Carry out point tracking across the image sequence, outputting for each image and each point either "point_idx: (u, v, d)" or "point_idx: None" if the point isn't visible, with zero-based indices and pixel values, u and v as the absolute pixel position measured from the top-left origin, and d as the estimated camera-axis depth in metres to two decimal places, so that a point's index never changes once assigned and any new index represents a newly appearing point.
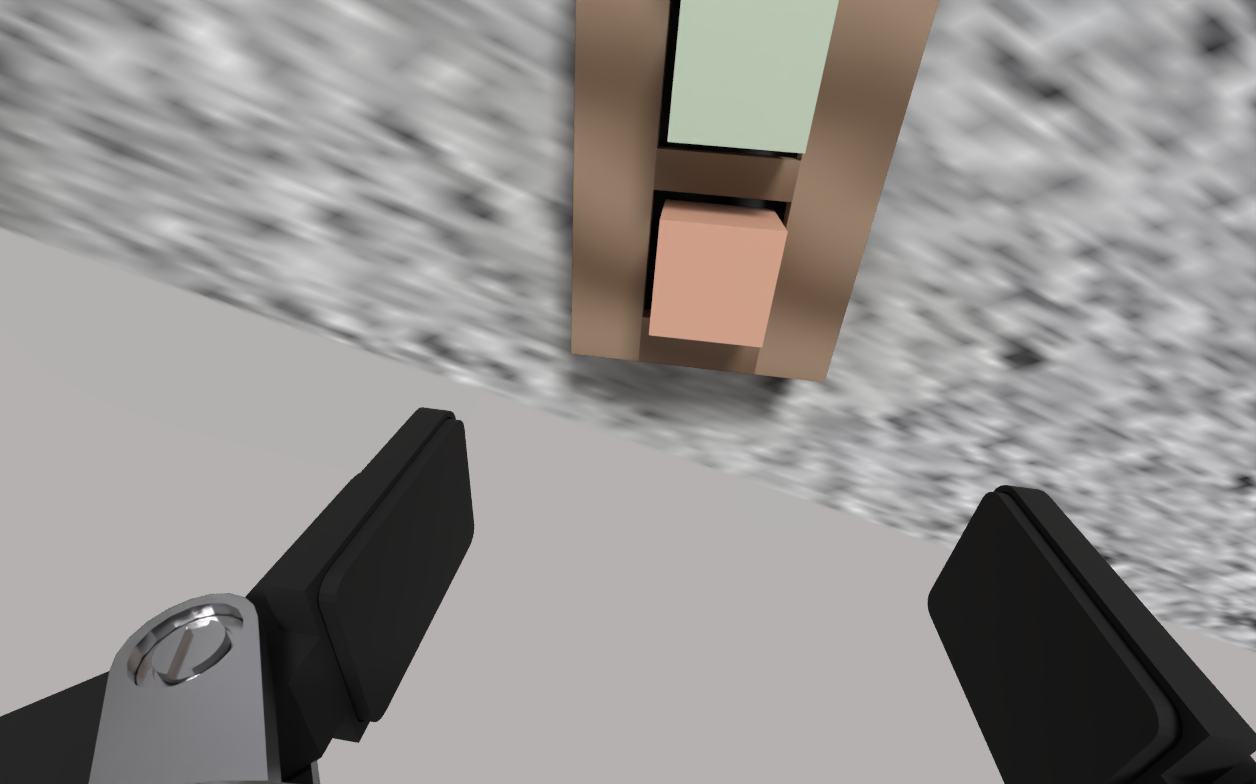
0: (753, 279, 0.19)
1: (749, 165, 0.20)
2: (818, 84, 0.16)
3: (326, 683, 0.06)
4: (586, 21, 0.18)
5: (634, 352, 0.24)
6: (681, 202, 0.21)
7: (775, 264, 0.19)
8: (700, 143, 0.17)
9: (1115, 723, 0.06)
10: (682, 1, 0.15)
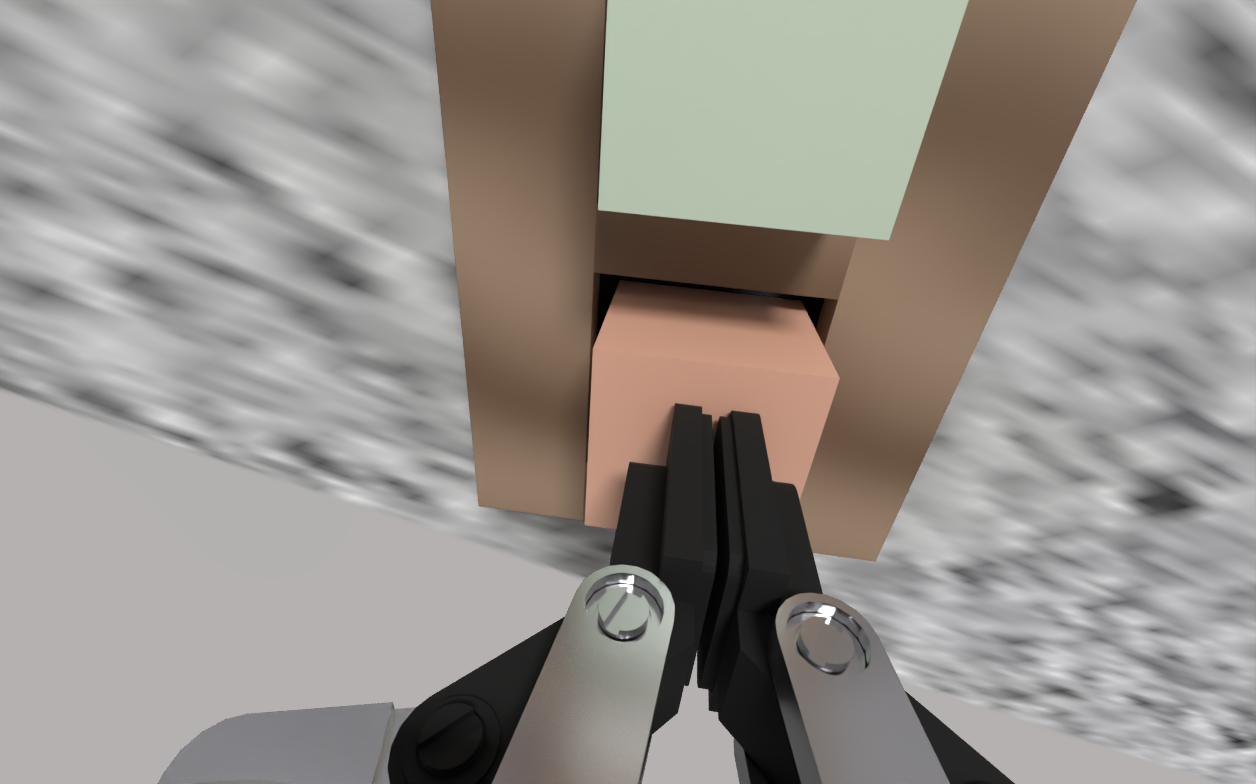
0: (770, 452, 0.10)
1: (764, 235, 0.11)
2: (933, 94, 0.07)
3: None
4: None
5: (576, 508, 0.16)
6: (645, 288, 0.13)
7: (812, 430, 0.10)
8: (667, 215, 0.08)
9: (721, 576, 0.07)
10: None
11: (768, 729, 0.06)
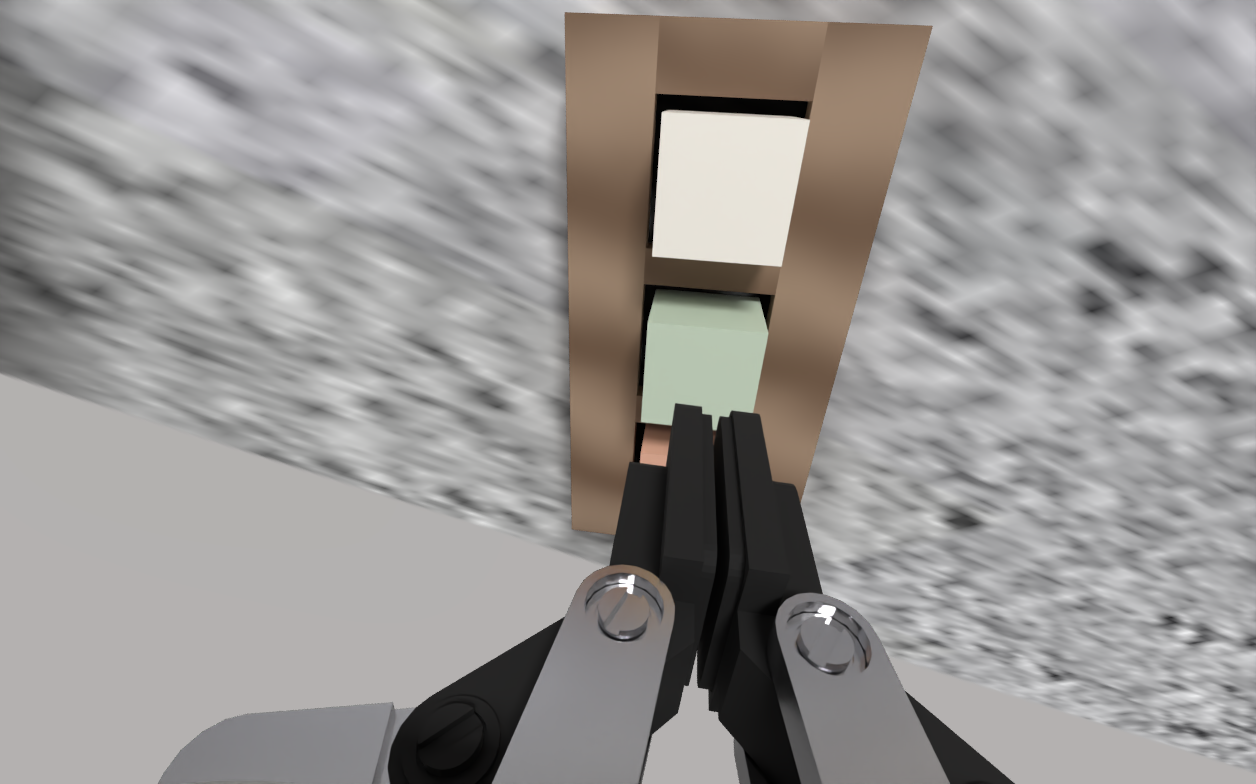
0: None
1: None
2: (755, 393, 0.20)
3: None
4: (577, 314, 0.23)
5: None
6: None
7: None
8: (666, 424, 0.22)
9: (721, 576, 0.07)
10: (647, 340, 0.20)
11: (768, 730, 0.06)
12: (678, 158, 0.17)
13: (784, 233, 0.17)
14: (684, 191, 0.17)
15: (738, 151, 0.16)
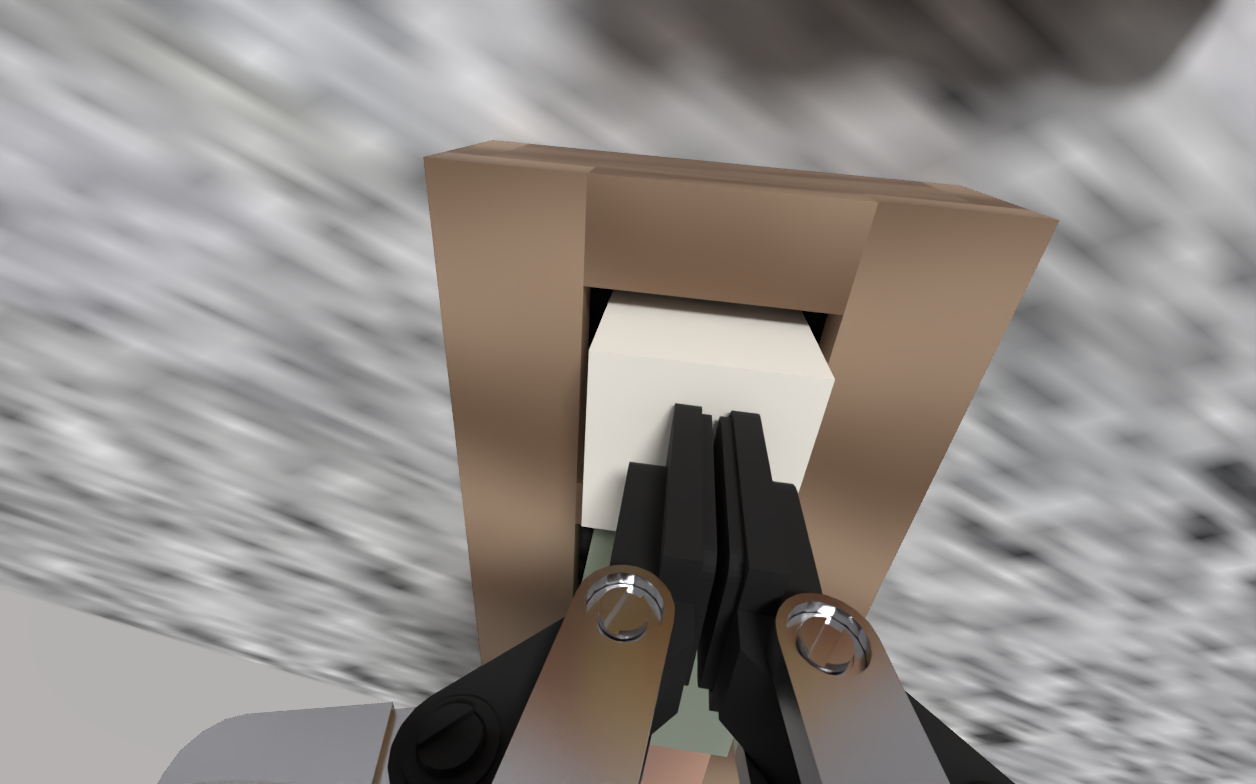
0: (677, 776, 0.18)
1: None
2: None
3: None
4: (480, 550, 0.16)
5: None
6: None
7: (700, 770, 0.17)
8: None
9: (721, 576, 0.07)
10: None
11: (768, 730, 0.06)
12: (618, 412, 0.10)
13: None
14: (629, 453, 0.11)
15: (716, 411, 0.10)
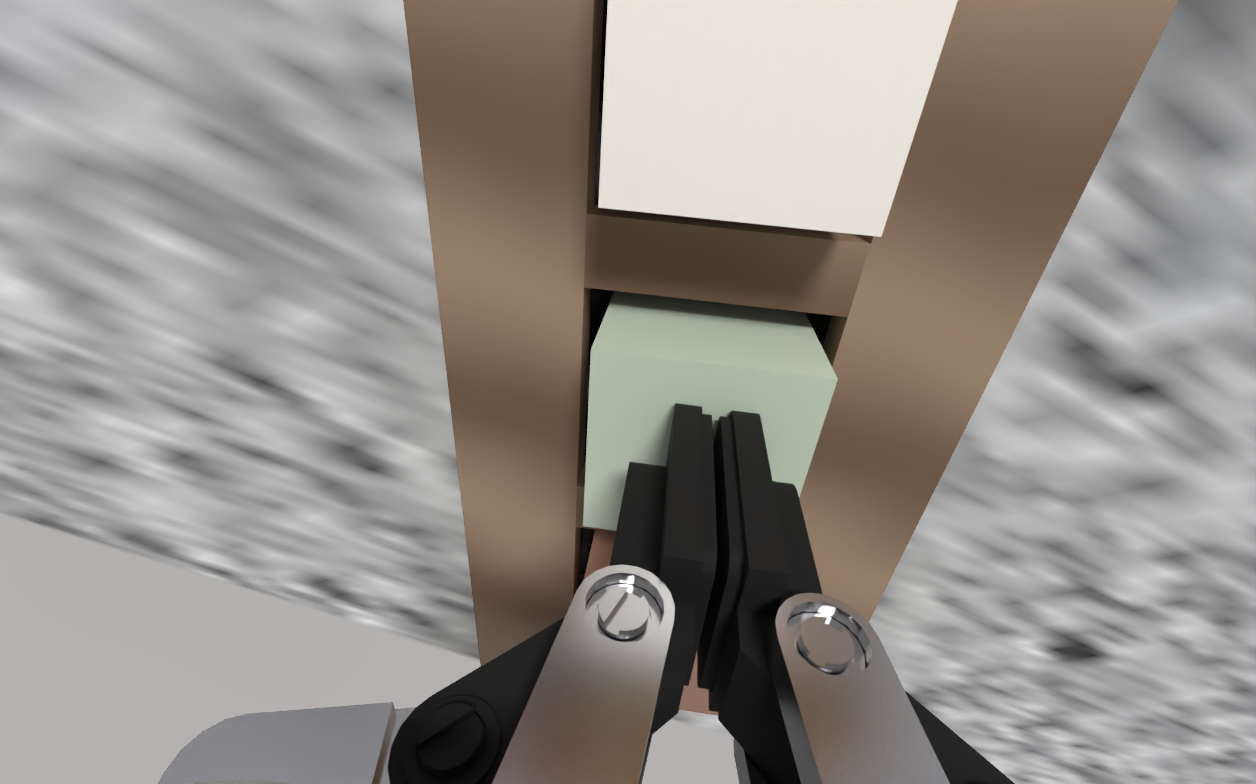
0: None
1: None
2: (799, 489, 0.11)
3: None
4: (459, 342, 0.12)
5: None
6: None
7: None
8: None
9: (721, 576, 0.07)
10: (591, 385, 0.10)
11: (768, 730, 0.06)
12: None
13: (898, 158, 0.08)
14: (672, 46, 0.07)
15: None
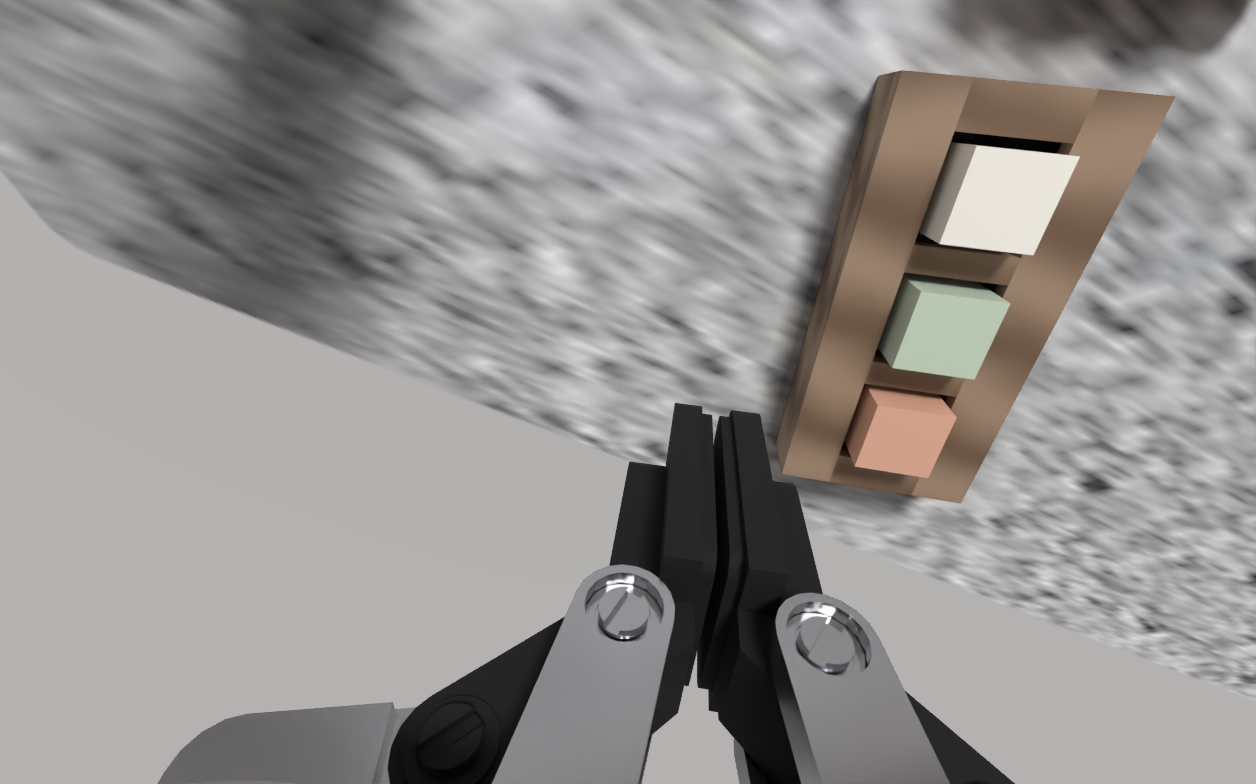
0: (930, 440, 0.31)
1: (932, 374, 0.31)
2: (988, 348, 0.28)
3: None
4: (842, 294, 0.30)
5: (827, 476, 0.36)
6: None
7: (945, 433, 0.31)
8: (912, 370, 0.29)
9: (721, 576, 0.07)
10: (916, 305, 0.28)
11: (768, 730, 0.06)
12: (979, 176, 0.24)
13: (1041, 232, 0.25)
14: (977, 199, 0.25)
15: (1024, 174, 0.24)
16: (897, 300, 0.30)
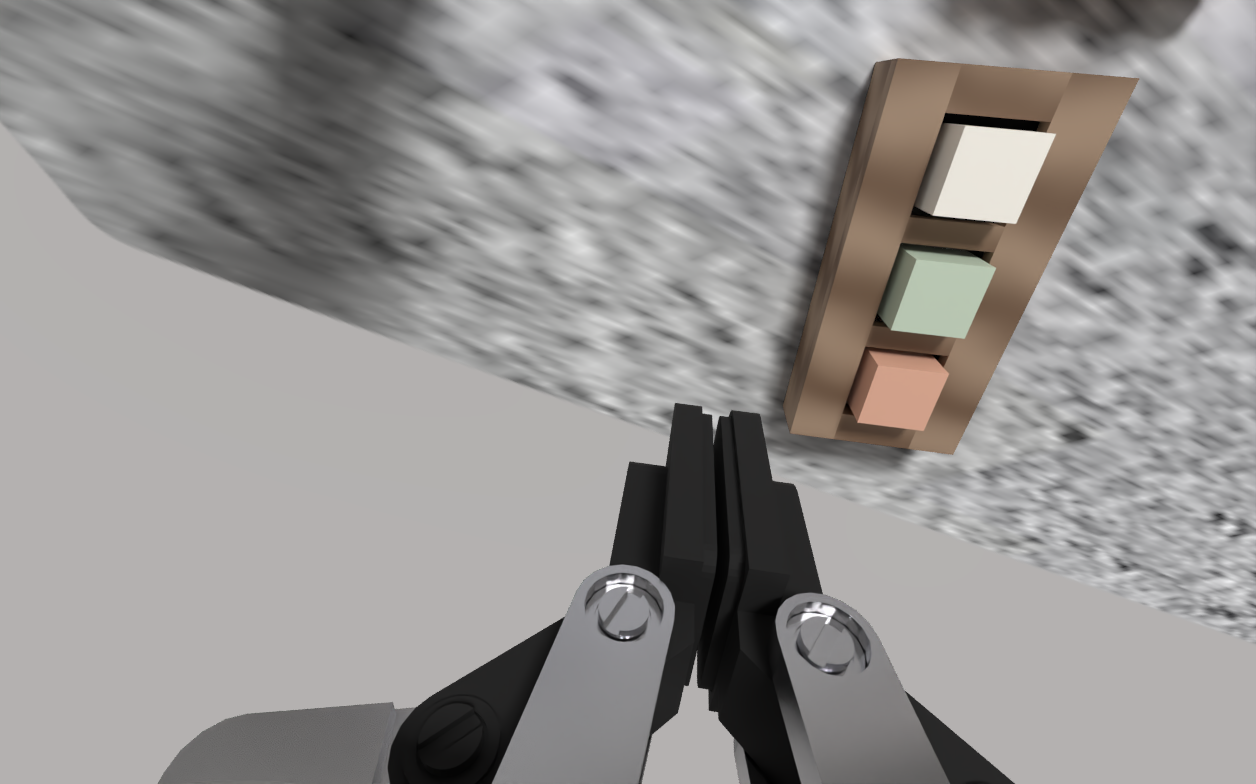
0: (925, 396, 0.34)
1: (926, 336, 0.34)
2: (976, 309, 0.31)
3: None
4: (845, 264, 0.33)
5: (832, 433, 0.39)
6: None
7: (939, 389, 0.34)
8: (908, 331, 0.32)
9: (721, 576, 0.07)
10: (912, 272, 0.31)
11: (768, 729, 0.06)
12: (967, 153, 0.27)
13: (1023, 202, 0.28)
14: (966, 174, 0.28)
15: (1007, 151, 0.27)
16: (894, 268, 0.33)
